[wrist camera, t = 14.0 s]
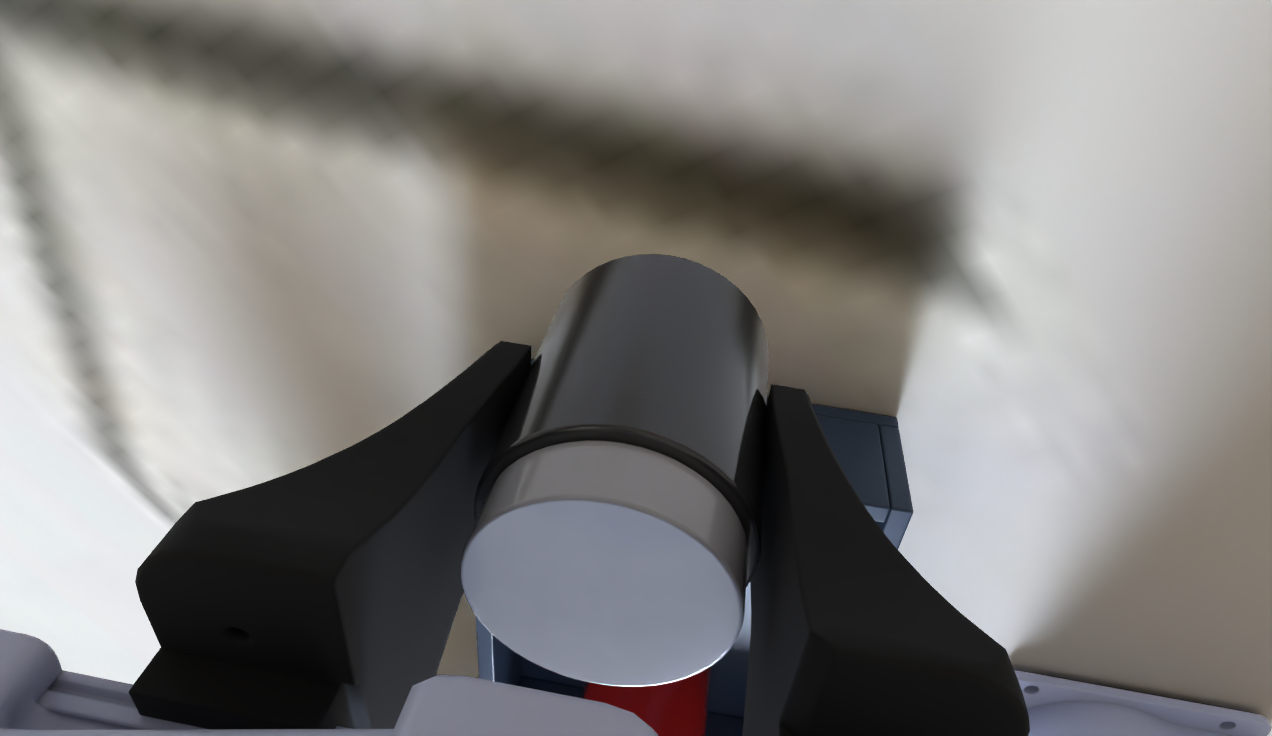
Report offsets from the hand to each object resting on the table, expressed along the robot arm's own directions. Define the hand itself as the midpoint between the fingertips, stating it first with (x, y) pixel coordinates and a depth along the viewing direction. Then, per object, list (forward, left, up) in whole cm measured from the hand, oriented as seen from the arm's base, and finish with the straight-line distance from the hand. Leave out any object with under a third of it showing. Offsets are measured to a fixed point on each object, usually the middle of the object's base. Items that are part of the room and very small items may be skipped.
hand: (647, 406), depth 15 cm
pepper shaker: (0, 0, -2) cm, 2 cm away
